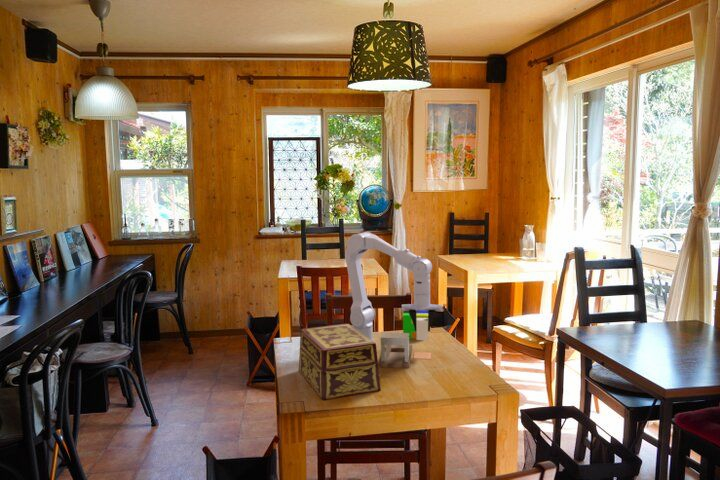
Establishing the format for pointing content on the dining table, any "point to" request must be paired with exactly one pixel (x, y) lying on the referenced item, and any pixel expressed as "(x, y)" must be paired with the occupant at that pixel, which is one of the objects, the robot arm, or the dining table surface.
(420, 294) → the robot arm
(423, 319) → the cream block
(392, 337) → the sliding cover
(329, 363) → the decorative box
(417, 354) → the terracotta tile
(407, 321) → the puzzle toy
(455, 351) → the dining table surface
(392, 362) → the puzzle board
